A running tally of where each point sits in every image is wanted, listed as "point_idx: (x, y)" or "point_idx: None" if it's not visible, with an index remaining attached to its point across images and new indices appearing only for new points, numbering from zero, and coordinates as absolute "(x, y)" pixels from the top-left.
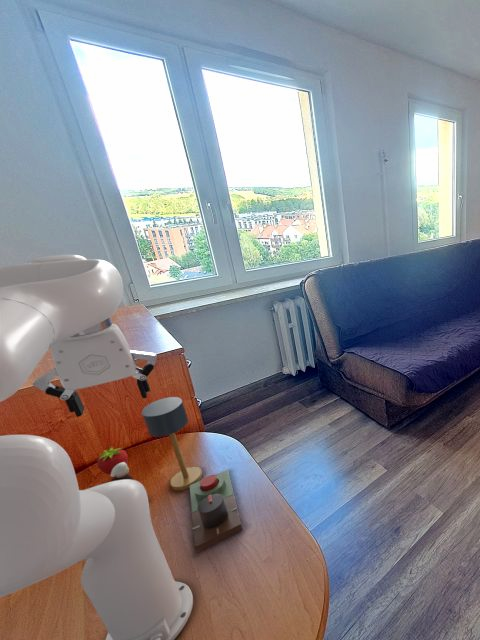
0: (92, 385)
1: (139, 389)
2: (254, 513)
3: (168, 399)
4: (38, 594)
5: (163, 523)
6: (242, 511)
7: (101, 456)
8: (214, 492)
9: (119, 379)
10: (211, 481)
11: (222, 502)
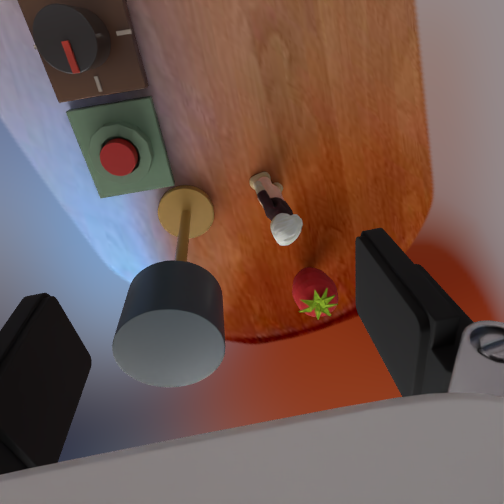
0: (279, 422)
1: (16, 350)
2: (3, 28)
3: (162, 377)
4: (381, 37)
5: (207, 106)
6: (37, 52)
7: (332, 303)
8: (103, 125)
9: (15, 471)
10: (109, 153)
11: (33, 26)
